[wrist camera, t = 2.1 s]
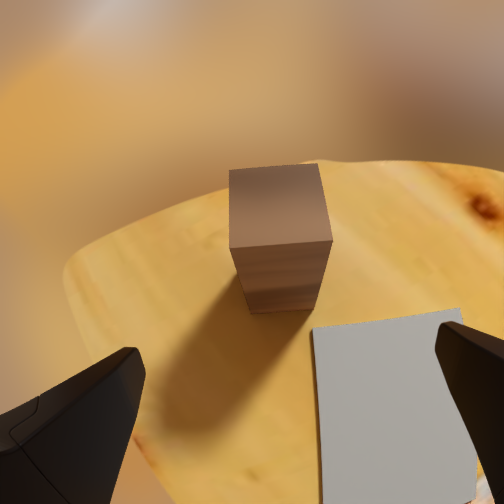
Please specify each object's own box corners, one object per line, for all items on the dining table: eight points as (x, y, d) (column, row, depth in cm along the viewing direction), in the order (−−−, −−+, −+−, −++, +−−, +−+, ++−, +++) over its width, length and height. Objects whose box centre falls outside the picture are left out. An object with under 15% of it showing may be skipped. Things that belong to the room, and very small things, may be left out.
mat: (473, 498, 14) (475, 498, 13) (323, 539, 14) (323, 541, 14) (457, 308, 21) (459, 307, 21) (312, 328, 22) (312, 327, 22)
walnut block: (313, 309, 23) (333, 240, 14) (250, 313, 23) (229, 248, 14) (307, 253, 25) (317, 163, 16) (248, 257, 25) (229, 170, 16)
